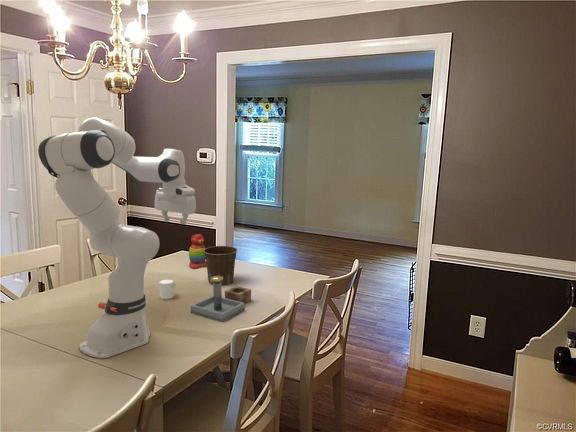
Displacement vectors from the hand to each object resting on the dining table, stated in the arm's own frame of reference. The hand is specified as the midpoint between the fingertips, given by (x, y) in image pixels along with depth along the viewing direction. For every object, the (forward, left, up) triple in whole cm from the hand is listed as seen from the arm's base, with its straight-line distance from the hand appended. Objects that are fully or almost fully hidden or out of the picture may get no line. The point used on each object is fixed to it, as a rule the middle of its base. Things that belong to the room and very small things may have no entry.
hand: (175, 222), depth 167 cm
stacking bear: (+45, +30, -34) cm, 64 cm away
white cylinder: (+2, +8, -34) cm, 35 cm away
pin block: (+15, -21, -34) cm, 43 cm away
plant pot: (+31, +2, -34) cm, 46 cm away
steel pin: (+2, -21, -33) cm, 39 cm away
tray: (+2, -21, -34) cm, 40 cm away
